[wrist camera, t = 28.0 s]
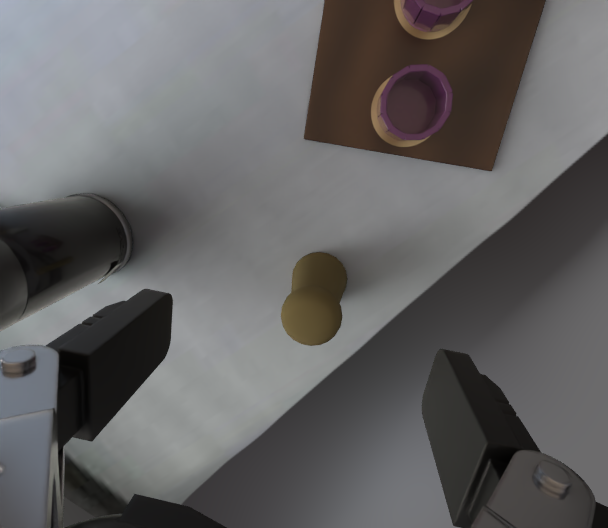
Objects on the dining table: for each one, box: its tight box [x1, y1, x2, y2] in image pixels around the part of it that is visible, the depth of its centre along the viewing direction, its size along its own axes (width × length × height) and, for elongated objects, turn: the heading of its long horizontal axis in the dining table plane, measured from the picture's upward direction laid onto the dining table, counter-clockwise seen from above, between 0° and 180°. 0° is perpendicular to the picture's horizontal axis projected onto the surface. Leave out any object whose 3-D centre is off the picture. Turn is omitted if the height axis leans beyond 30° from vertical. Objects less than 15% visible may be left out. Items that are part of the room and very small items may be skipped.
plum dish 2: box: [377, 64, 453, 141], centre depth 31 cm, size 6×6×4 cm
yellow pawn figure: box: [281, 252, 347, 346], centre depth 35 cm, size 6×6×11 cm
